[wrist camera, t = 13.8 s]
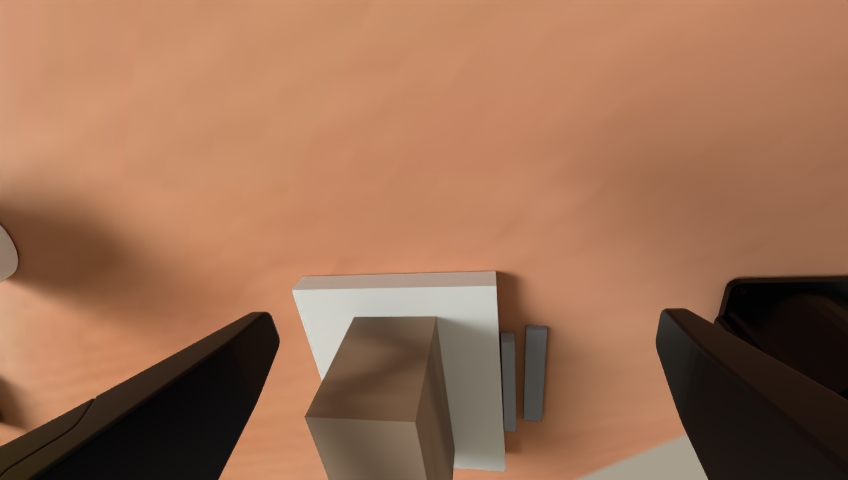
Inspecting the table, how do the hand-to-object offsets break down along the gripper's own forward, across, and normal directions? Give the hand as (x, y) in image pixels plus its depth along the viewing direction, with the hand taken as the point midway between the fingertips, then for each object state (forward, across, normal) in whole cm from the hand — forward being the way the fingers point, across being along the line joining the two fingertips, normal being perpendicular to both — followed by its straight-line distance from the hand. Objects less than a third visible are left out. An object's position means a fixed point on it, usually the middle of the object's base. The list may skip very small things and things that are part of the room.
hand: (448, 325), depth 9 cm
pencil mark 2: (+12, -3, +14) cm, 19 cm away
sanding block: (+10, +5, +14) cm, 18 cm away
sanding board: (+12, +5, +14) cm, 19 cm away
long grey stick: (+12, -1, +14) cm, 19 cm away
